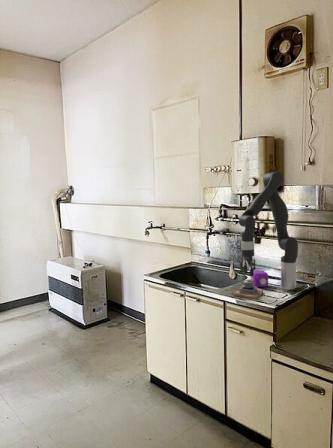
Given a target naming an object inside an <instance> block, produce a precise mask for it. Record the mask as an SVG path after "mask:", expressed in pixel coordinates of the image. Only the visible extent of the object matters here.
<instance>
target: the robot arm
mask: <svg viewBox="0 0 333 448" xmlns="http://www.w3.org/2000/svg"><path fill="white" fill-rule="evenodd" d="M283 175H284V174H283V173H282V172H279V171H273V172H272V171H270V172H267V173H265V174H264V175H263V178H262V180H263V186H264V189H263V190H262V191H261V192H260V193H259V194H258V195H257V196H255V198H254V199H253V200H252V202H251V203H250V205H249V206H248V208H247V209H246V210H244V211H243V212H242V214H241V215H240V216H239V218H238V224H239V226H241V227H244V231H241V234H240V235H241V247H240V248H241V250H240V251H241V266H242V267H243V273H244V274H247V273H248V269H249V277H251V276H254V271H256V269H257V268H256V259H253V257H254V256H255V243H254V242H255V241H254V233H255V228H256V219H255V216H258V215H260V213H261V212H262V209H264V206H265V205H266V203H267V202H268V201H269V205H270V209H271V214H272V217H273V222H274V225H275V230H276V236H277V245H278V247H279V249H281V250H283V251H284V255H282V256H281V257H280V288H281V289H282V290H286V291H287V290H288V291H290V290H291V291H293V289H294V290H296V289H297V259H298V257H299V256H298V253H299V242H298V239H296V237H292V236H290V235H289V232H288V227H287V226H288V222H289V211H288V207H287V205H286V203H285V201H284V200H283V198H282V197H281V195H280V194H279V191H278V189H279V188H280V186H281V185H282V184H283V182H284V176H283ZM295 288H296V289H295Z"/></svg>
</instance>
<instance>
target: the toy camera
mask: <svg viewBox="0 0 333 448" xmlns="http://www.w3.org/2000/svg"><path fill="white" fill-rule="evenodd" d="M250 280H252V281H253V286H254V287H257V288H267V287H269V274H268V272H267V271H265V270H263V269H260V270H254V276H250Z"/></svg>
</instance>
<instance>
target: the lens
mask: <svg viewBox="0 0 333 448" xmlns="http://www.w3.org/2000/svg"><path fill="white" fill-rule="evenodd" d="M243 286H244V289H247V290H253V281H252V280H251V279H244V281H243Z"/></svg>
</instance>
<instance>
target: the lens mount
mask: <svg viewBox="0 0 333 448" xmlns="http://www.w3.org/2000/svg"><path fill="white" fill-rule="evenodd" d="M263 294H264V290H263V289H258V287H254V286H253V290H247V289H244V285H242V286H241V287H240V288H239V289H238V290H236V291H235V292H234V293H232V296H233V297H237V296H239V297H238V298H246V299H252V300H257V299H258V298H259V297H260V296H262V295H263Z"/></svg>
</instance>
